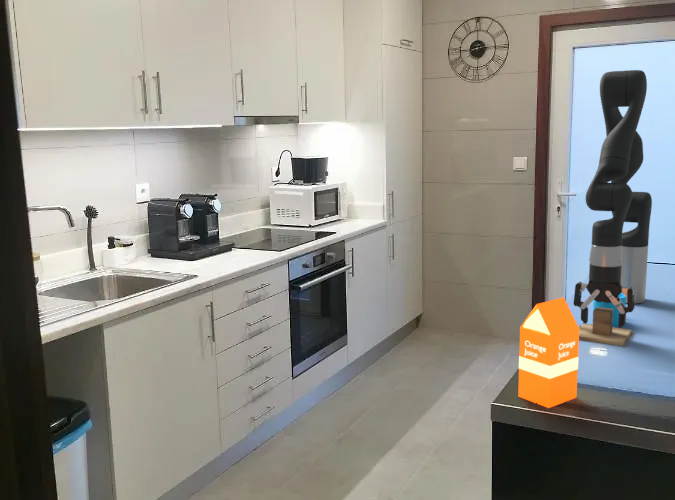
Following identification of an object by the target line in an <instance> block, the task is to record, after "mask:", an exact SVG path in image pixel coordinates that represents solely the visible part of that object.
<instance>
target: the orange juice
mask: <svg viewBox="0 0 675 500" xmlns="http://www.w3.org/2000/svg"><path fill="white" fill-rule="evenodd" d="M579 344H580V341H579V325H578V323H577V321H576V319H575V317H574V315H573V313H572V311H571V309H570V307H569V305H568V303H567V301H566V299H565V297H563V296H562V297H560V298H557V299H551V300H549V301H544V302H543V301H542V302H539V303H536V304H535V306H534V307H533V309H532V310H531V311H530V313H529V314H528V316H527V317H526V318H525V320H524V321H523V323H522V324H521V325H520V327H519V355H518V391H517V392H518V395H517V396H518V397H519V398H521V399H524V400H527V401H528V402H531V403H534V404H536V403H537V404H536V405H539V406H542V407H545V408H547V409H550V408H553V407H555V406H558V405H560V404H563V403H565V402H568V401H571V400H574V399H576V398H577V393H578V392H577V391H578V370H579V347H580V345H579Z"/></svg>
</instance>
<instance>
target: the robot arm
mask: <svg viewBox="0 0 675 500" xmlns="http://www.w3.org/2000/svg"><path fill="white" fill-rule="evenodd" d="M647 88H648V83H647V75H646V73H645V71H643V70H639V69H630V70H613V71H607V72H604V73H603V75H602V76H601V77H600V81H599V97H600V103H601V108H602V113H603V120H604V124H605V125H604V126H605V132H606V137H605V138H604V141H603V143H602V145H601V150H600V155H599V161H598V166H597V169H596V172H595V174H594V177H593V178H592V179H591V182H590V184H589V186H588V188H587V190H586V193H585V203H586V206H587V208H589V210H591V211H595V212H611V213H612V214H611V215H612V217H611V218H608V219H602V220H597V221H595V222H593V225H592V228H591V229H592V230H591V246H590V252H589V259H588V260H589V266H588V267H589V268H588V269H589V271H588V272H589V273H588V283H584V282H581V281H578V282H576V284H575V285H574V295H573V296H574V297H573V306H575V307H578V308H579V309H580V320H581V321H582V324H588V322H589V307H588V306H589V305H590V304H591V303H592V302H593V301H594V300H595V301H596V302H605V303H611V302H612V303H613V304H614V306H615V307H616V308H617V309H618V310H619V312H620V313H619V321H618V327H617V328H622V329H623V327H624V326H625V325H626V323H627V321H626V319H627V313H632V312H633V311H634V310H635V304H642V303H644V302H646V291H647V289H646V288H647V286H646V285H647V275H648V274H647V271H648V255H649V238H650V223H651V214H652V209H653V208H652V206H653V201H652V200H653V199H652V195H651V194H650V193H649V191H648V192H647V191H633V190H632V189H631V187H630V185H628V183H629V182H630V180H631V179H632V178H633V177H634V176H635V174H636V173H637V172H638V171H639V170H640V168H641V167H642V164H643V162H644V148H643V146H644V144H643V142H644V141H643V139H642V137H641V135H640V134H639V132H638V131H637V129H638V125H639V122H640V119H641V115H642V112H643V108H644V105H645V101H646V100H645V99H646V96H647V91H648V90H647ZM624 107H625V108H627V107H628V109H627V111H626V113H625V114H624V115H622V112H621V111H620V108H624ZM625 223H635V224H636V223H637V226H636V227H634V228H633V229H631V230H629V231H625V232H623V229H624V224H625ZM585 289H586V290H587V292H588V293H589V296H588V297H587V298H586V300H585V301H584V302H583V301H582V293H583V292H584V291H585ZM620 293H622V294H625V296H626V304H627V306H626V307H625V306H624V304H623V303H622V301H621V299H620V298H619V294H620Z"/></svg>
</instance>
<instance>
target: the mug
mask: <svg viewBox="0 0 675 500" xmlns="http://www.w3.org/2000/svg"><path fill="white" fill-rule="evenodd" d="M619 298H620V299H621V301H622V303H623V304H624V306H625V307H627V306H626V304H627V303H626V296H625V294H622V293H620V294H619ZM592 302H593V303H592V304H593V306H592V312H593V311H594V309H595V308H596V307H601V308H610V309H613V324H612V327H614V328H618V321H619V313H620V312H619V310H618V309H617V308H616V307H615V306H614V304H613V303H612V302H611V303H605V302H596V301H595V300H593V301H592Z"/></svg>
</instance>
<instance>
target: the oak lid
mask: <svg viewBox="0 0 675 500" xmlns="http://www.w3.org/2000/svg"><path fill="white" fill-rule="evenodd" d="M612 324H613V309H610V308H601V307H596V308H595V309H594V311H593V310H592V324H589V323H586V324H585V323H582V324H581V325H582V326H581V327H580V328H579V340H587V341H594V342H601V343H608V344H615V345H622V346H623V344H624V343H625V341H626V340H627V338H628V337H629V336H630V334H631V333H632V332H633V331H632V330H633V329H629V328H623V327H622V328H618V327H612Z"/></svg>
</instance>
